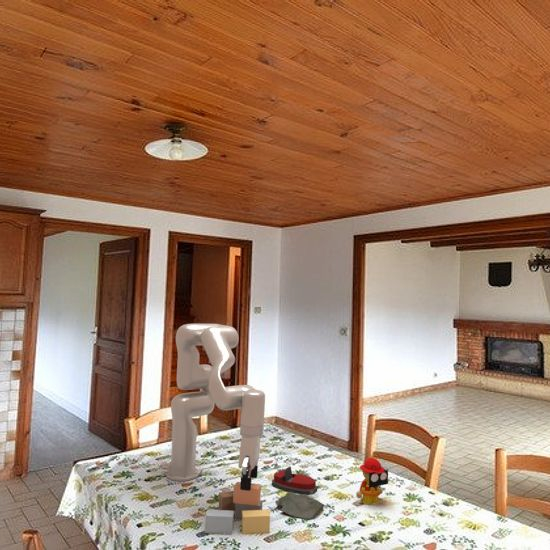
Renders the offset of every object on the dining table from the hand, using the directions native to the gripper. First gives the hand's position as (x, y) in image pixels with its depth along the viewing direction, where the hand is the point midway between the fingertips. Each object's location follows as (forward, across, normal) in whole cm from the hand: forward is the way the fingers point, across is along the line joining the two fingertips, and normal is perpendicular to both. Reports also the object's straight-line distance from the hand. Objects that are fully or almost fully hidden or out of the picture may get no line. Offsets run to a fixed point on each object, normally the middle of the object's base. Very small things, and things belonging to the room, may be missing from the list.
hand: (248, 483), depth 143 cm
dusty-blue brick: (+10, +10, -6) cm, 16 cm away
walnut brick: (+11, -4, -6) cm, 13 cm away
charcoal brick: (+10, +1, +1) cm, 11 cm away
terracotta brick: (+6, 0, 0) cm, 6 cm away
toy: (+10, -20, +40) cm, 46 cm away
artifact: (+11, -9, +16) cm, 21 cm away
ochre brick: (+10, +8, +4) cm, 14 cm away
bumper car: (+11, -27, +11) cm, 31 cm away
